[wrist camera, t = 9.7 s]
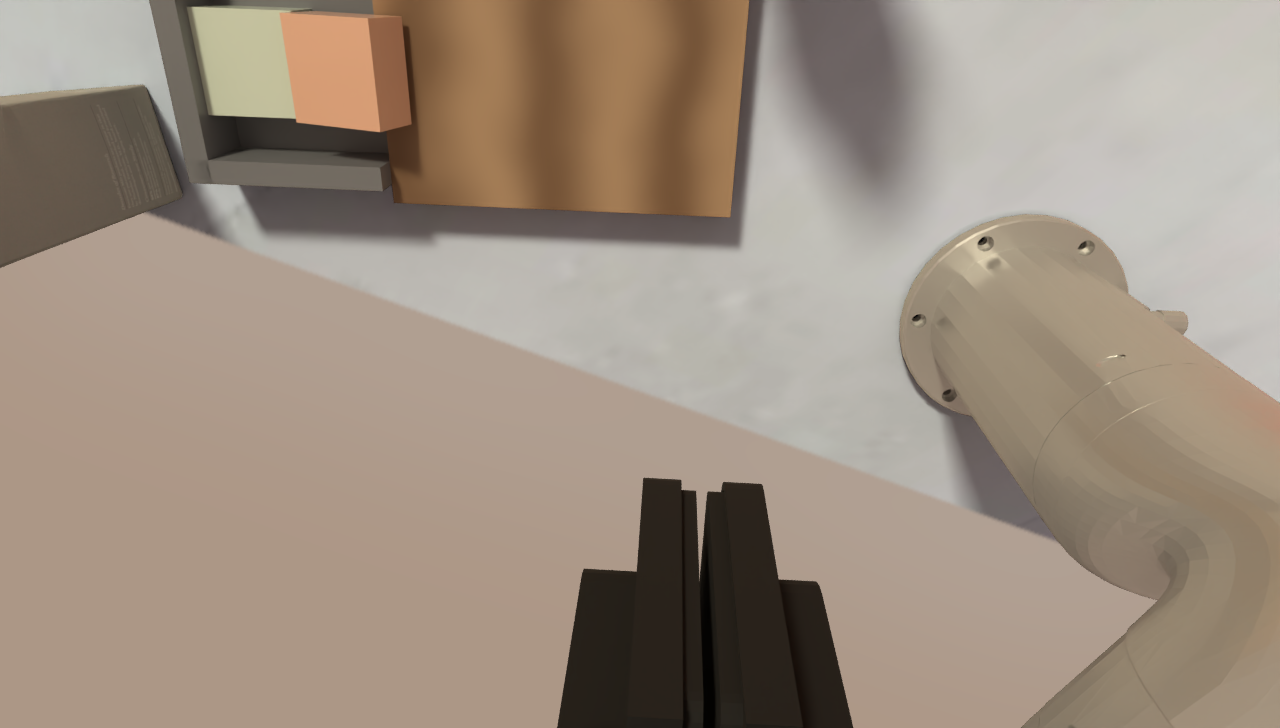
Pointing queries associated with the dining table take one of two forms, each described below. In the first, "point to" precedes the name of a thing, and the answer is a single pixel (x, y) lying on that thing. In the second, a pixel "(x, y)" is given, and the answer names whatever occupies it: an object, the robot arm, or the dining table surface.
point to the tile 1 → (243, 60)
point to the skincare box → (77, 165)
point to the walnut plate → (570, 104)
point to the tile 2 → (347, 69)
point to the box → (262, 121)
